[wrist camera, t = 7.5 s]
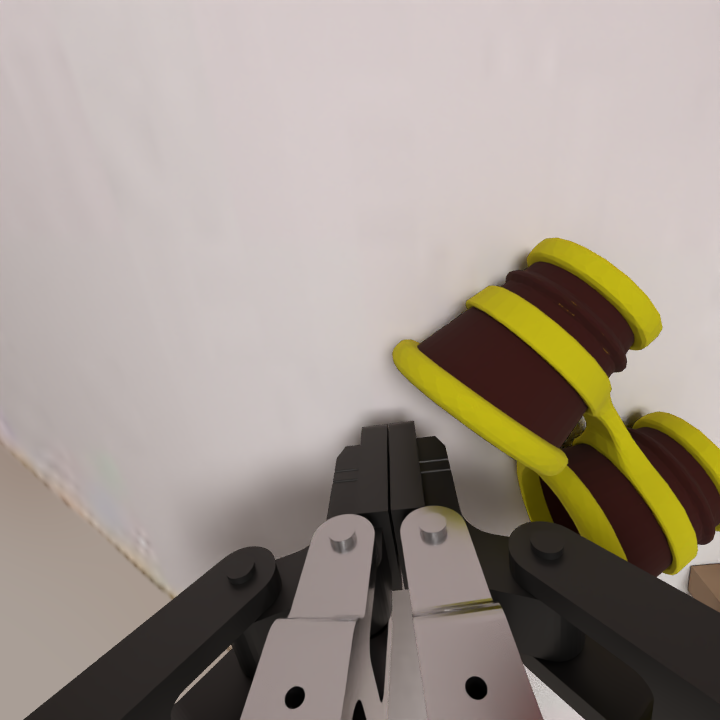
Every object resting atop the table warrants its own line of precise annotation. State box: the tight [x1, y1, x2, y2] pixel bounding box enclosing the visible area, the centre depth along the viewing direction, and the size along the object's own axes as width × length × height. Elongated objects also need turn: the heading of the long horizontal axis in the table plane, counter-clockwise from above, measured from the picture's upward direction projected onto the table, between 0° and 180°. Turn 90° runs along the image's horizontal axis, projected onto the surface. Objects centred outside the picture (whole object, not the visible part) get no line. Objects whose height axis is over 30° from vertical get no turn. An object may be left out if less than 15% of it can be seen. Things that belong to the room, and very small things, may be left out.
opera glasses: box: [392, 238, 720, 577], centre depth 12 cm, size 10×5×5 cm, turn 36°
